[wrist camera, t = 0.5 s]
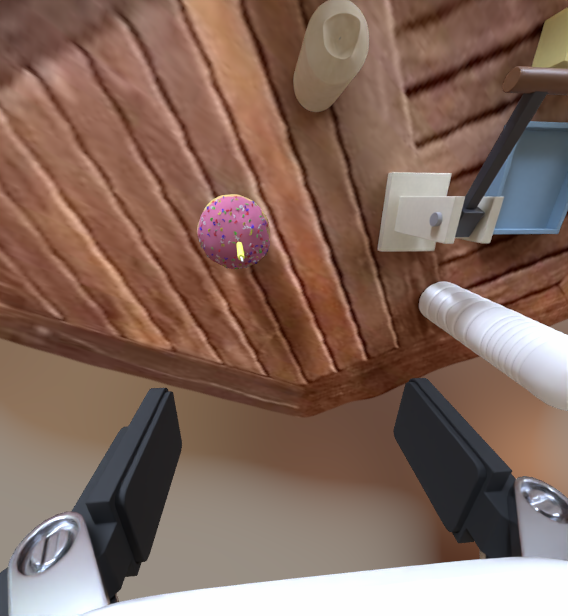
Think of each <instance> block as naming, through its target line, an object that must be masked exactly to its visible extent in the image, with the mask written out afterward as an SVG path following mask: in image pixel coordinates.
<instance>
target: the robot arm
mask: <svg viewBox="0 0 568 616" xmlns="http://www.w3.org/2000/svg"><path fill="white" fill-rule="evenodd" d="M394 436H395V439H396V441H397V443H398V444H399V446H400V448H401V450H402V451H403V453H404V455H405V457H406V459H407V460H408V462H409V464H410V466H411V467H412V469H413V471H414V473H415V475H416V476H417V478H418V480H419V482H420V483H421V485H422V487H423V489H424V491H425V492H426V494H427V496H428V498H429V499H430V501H431V503H432V505H433V506H434V508H435V510H436V512H437V514H438V515H439V517H440V519H441V521H442V522H443V524H444V526H445V527H446V529H447V530H448V531H449V532H452V533H453V535H454V537H455V538H456V540H457V542H458V543H466V542H474V541H475V542H476V544H477V546H478V547H479V549H480V559H479V560H466V561H456V562H446V563H437V564H427V565H417V566H406V567H397V568H387V569H378V570H368V571H359V572H350V573H340V574H331V575H322V576H312V577H303V578H294V579H285V580H276V581H267V582H259V583H250V584H241V585H232V586H225V587H215V588H206V589H199V590H191V591H184V592H176V593H169V594H161V595H154V596H147V597H143V598H137V599H133V600H127V601H122V602H119V600H118V596H117V592H118V591H119V590H120V589H121V587H122V584H123V581H124V578H125V577H129V576H137V574H138V571H139V568H140V565H141V562H145V561H146V560H147V559H148V557H149V554H150V551H151V548H152V545H153V541H154V538H155V535H156V531H157V528H158V525H159V522H160V518H161V515H162V512H163V508H164V505H165V502H166V499H167V495H168V492H169V489H170V485H171V482H172V479H173V476H174V473H175V469H176V466H177V463H178V459H179V456H180V453H181V448H182V440H181V435H180V429H179V424H178V418H177V412H176V406H175V401H174V395H173V392H169V391H168V389H167V388H151V389H150V390H149V391H148V393H147V395H146V396H145V398H144V400H143V402H142V403H141V405H140V407H139V409H138V410H137V412H136V414H135V416H134V418H133V419H132V421H131V423H130V425H129V426H128V427H123V428H122V429H121V430H120V431H119V433H118V434H117V436H116V437H115V439H114V441H113V442H112V444H111V446H110V448H109V449H108V451H107V453H106V454H105V456H104V458H103V459H102V461H101V463H100V464H99V466H98V468H97V470H96V471H95V473H94V475H93V476H92V478H91V479H90V481H89V483H88V485H87V486H86V488H85V490H84V491H83V493H82V495H81V496H80V498H79V500H78V502H77V503H76V505H75V506H74V508H73V510H72V511H71V512H64V513H60V514H57V515H55V516H53V517H51V518H49V519H47V520H45V521H44V522H42V523H41V524H39V525H38V526H37V527H35V528H34V529H33V530H32V531H31V532H30V533H29V534H28V535H27V536H26V537H25V538H24V539H23V540H22V541H21V543H20V544H19V545H18V546H17V548H16V549H15V551H14V553H13V555H12V557H11V559H10V561H9V565H8V568H6V569H5V570H3V571H2V572H1V573H0V616H568V498H566V497H565V496H564V495H563V494H562V493H561V492H560V491H558V490H557V489H555V488H554V487H552V486H551V485H549V484H547V483H545V482H543V481H541V480H538V479H536V478H533V477H526V476H523V477H518V478H517V479H515V478H514V476H513V475H512V474H511V472H512V470H511V469H510V468H509V467H508V466H507V465H506V463H505V462H504V461H503V460H502V459H501V458H500V457H499V456H498V455H497V454H496V453H495V452H494V451H493V449H492V448H491V447H490V446H489V445H488V444H487V443H486V442H485V441H484V440H483V439H482V438H481V436H479V434H477V432H476V431H475V430H474V429H473V428H472V427H471V426H470V425H469V424H468V422H467V421H466V420H465V419H464V418H463V417H462V416H461V415H460V414H459V413H458V412H457V411H456V409H455V408H454V407H453V406H452V405H451V404H450V403H449V402H448V401H447V400H446V399H445V398H444V397H443V395H442V394H441V393H440V392H439V391H438V390H437V389H436V388H435V387H434V386H433V385H432V383H431V382H430V381H429V380H428V379H426V378H412V379H410V380H409V382H407V383H406V384H405V388H404V392H403V396H402V399H401V403H400V407H399V411H398V415H397V419H396V423H395V427H394Z"/></svg>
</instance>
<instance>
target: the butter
mask: <svg viewBox="0 0 568 616" xmlns="http://www.w3.org/2000/svg"><path fill="white" fill-rule="evenodd" d="M532 67H544V68H563V69H568V7H567V8H565V9H564V10H562V11H560V12H559V13H557V14H556V15H554V16H552V17H551V18H549V19H547V20H546V21H545V23H544V26H543V29H542V33H541V36H540V40H539V43H538V46H537V50H536V53H535V57H534V60H533V64H532Z"/></svg>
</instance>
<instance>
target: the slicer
mask: <svg viewBox="0 0 568 616" xmlns="http://www.w3.org/2000/svg"><path fill="white" fill-rule="evenodd" d="M450 178H451V173H388V179H387V186H386V193H385V200H384V207H383V214H382V221H381V228H380V235H379V242H378V249H377V250H378V251H381V252H390V251H434V248H435V244H436V242H440V243H444V244H453V243H454V239H455V238H458V239H463V240H468V241H473V242H478V243H490V241H491V238H492V235H493V232H494V228H495V225H496V222H497V219H498V215H499V212H500V209H501V206H502V202H503V199H504V197H483V198H482V200H481V201H480V203H479V205H478V207H479V208H480V209H481V210H483V211H484V212H485V214H484V215H483V217H482V218H481V220H480V221H479V223H478V224H477V226H476V227H475V229H474V230H473V232H472V233H471V235H470V236H469V237H455V235H456V231H457V227H458V223H459V219H460V215H461V211H462V207H463V204H464V200H465V196H447V191H448V187H449V183H450Z"/></svg>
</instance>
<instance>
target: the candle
mask: <svg viewBox="0 0 568 616" xmlns="http://www.w3.org/2000/svg"><path fill="white" fill-rule="evenodd" d="M368 47H369V32H368V26H367V23H366V20H365V18H364V16H363V14H362V12H361V11H360V9H359V8H358V7H357V6H356V5H355V4H353V3H352V2H350V1H348V0H328V1H326V2H325V3H323V4H322V5H321V6H319V7H318V8H317V10H316V11H315V12H314V14H313V15H312V17H311V19H310V21H309V24H308V26H307V30H306V33H305V37H304V40H303V44H302V47H301V51H300V54H299V58H298V61H297V65H296V68H295V72H294V78H293V86H294V92H295V95H296V98H297V100H298V101H299V103H300V104H301V105H302V106H303V107H304V108H305V109H307V110H309V111H312V112H321V111H324V110H326V109H328V108H329V107H330V106H331V105H332V104H333V103H334V102H335V101H336V100H337V98H338V97H339V96H340V95H341V93H342V92H343V91H344V90H345V88H346V87H347V86H348V85H349V83H350V82H351V81H352V80H353V78H354V77H355V76H356V75H357V73H358V72H359V71H360V69H361V68H362V66H363V64H364V62H365V59H366V56H367V53H368Z"/></svg>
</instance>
